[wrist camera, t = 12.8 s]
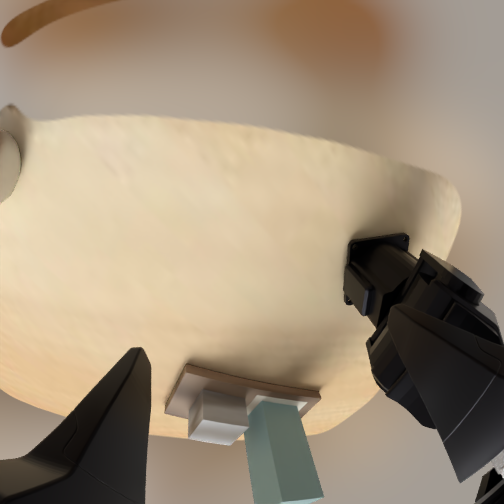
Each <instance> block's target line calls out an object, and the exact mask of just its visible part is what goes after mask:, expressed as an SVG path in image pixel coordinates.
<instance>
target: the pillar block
mask: <svg viewBox="0 0 504 504" xmlns="http://www.w3.org/2000/svg"><path fill="white" fill-rule="evenodd" d="M248 421H249V428H248V429H247V430H246V431H245V432H244V437H245V445H246V452H247V459H248V465H249V472H250V479H251V485H252V491H253V497H254V504H310V503H312V502H314V501H317V500H319V499H321V498H323V497H324V495H323V491H322V488H321V485H320V481H319V478H318V475H317V471H316V468H315V465H314V462H313V458H312V455H311V451H310V448H309V445H308V442H307V438H306V435H305V431H304V428H303V425H302V421H301V418H300V415H299V411H298V408H297V406H293V405H286V404H279V403H272V402H266V401H261V402H260V403H259V404H258V405H257V406H256V407H255V408H254V409H253V410H252V411H251V413H250V414H249V415H248Z"/></svg>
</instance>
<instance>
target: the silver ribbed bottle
mask: <svg viewBox="0 0 504 504" xmlns="http://www.w3.org/2000/svg"><path fill="white" fill-rule="evenodd" d="M20 168H21V157H20V151H19V148H18V145H17V143H16V141H15V139H14V138H13V137H12V135H11V134H10V133H8V132H7V131H5V130H0V204H1V203H2V202H4V201H5V200H6V199H7V198H8V197H9V196H10V195H11V194H12V192H13V190H14V188H15V186H16V184H17V181H18V178H19V174H20Z"/></svg>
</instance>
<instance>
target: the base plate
mask: <svg viewBox="0 0 504 504" xmlns="http://www.w3.org/2000/svg"><path fill="white" fill-rule="evenodd" d="M320 400H321V396H320V393H319V391H311V390H304V389H297V388H291V387H285V386H279V385H274V384H268V383H263V382H258V381H253V380H248V379H244V378H239V377H235V376H231V375H227V374H222V373H218V372H215V371H211V370H207V369H203V368H200V367H196V366H192V365H189V364H186V366H185V368H184V369H183V371H182V373H181V375H180V377H179V379H178V381H177V383H176V385H175V387H174V389H173V391H172V393H171V395H170V397H169V399H168V401H167V403H166V405H165V414H169V415H172V416H177V417H181V418H185V419H188V439H192V440H198V441H203V442H209V443H216V444H223V445H231V444H232V443H233V442H234V441H235V440H237V439H238V438H239V437H240V436H241V435H242V434H243V433H244V432H245V431H246V430H247V429H248V428H249V421H248V415H249V414H250V413H251V411H252V410H253V409H254V408H255V407H256V406H257V405H258V404H259V403H260V402H261V401H266V402H272V403H279V404H286V405H293V406H297V408H298V411H299V415H300V418H302V417H303V416H304V415H305V414H306V413H307V412H308V411H309V410H310V409H311V408H312V407H313V406H314V405H315V404H316V403H317V402H319V401H320Z"/></svg>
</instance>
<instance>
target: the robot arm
mask: <svg viewBox="0 0 504 504" xmlns="http://www.w3.org/2000/svg"><path fill="white" fill-rule="evenodd" d="M404 238H405V239H404ZM403 239H404V240H403ZM355 244H356V246H355V247H354V248H353V246H354V245H355ZM408 246H409V235H407V234H406V233H399V234H392V235H385V236H378V237H371V238H364V239H357V240H352V241H350V242H349V244H348V255H347V264H346V266H345V273H344V286H343V291H344V292H345V294H344V302H345V303H346V305H353V304H354V306H355V307H356V308H357V310H358V311H359V312H360V314H361V315H362V316H368V318H369V319H370V321H371V322H372V323H373V325H374V326H375V327H376V331H375V332H374V334H373V335H372V337H370V338H369V339H368V340H367V342H366V347H367V351H368V355H369V359H370V364H371V368H372V369H371V371H372V374H373V377H374V379H375V381H376V384H377V385H378V386H379V387H380V388H381V389H382V390H383V391H384V392H385V393H386V394H385V395H386V396H387V397H389V398H390V399H392V400H394V401H396V402H398V403H399V404H400V405H402V406H403V407H404V408H406V409H407V410H408V411H409V412H410V413H411V414H412V415H413V416H414V417H415V418H416V419H417V420H418V421H419V423H420V424H421V425H423V426H425V427H428V428H432V429H437V431H438V433H439V435H440V437H441V439H442V442H444V443H443V444H444V447H445V449H446V451H447V453H448V456H449V458H450V460H451V463H452V465H453V468H454V470H455V473H456V476H457V478H458V481H459V482H460V483H462V482H463V481H465V480H466V479H467V478H469V477H470V476H472V475H473V474H474V473H476V472H477V471H478V470H480V469H481V468H482V467H484V466H485V465H486V464H488V463H489V462H490V461H491V462H492V464H493V466H494V467H493V468H492V469H491V470H490V471H488V472H487V473H486V474H485V475H484V476H482V481H481V484H480V487H479V490H478V494H477V497H476V500H475V502H476V503H475V504H504V342H503V339H502V336H501V332H500V329H499V326H498V323H497V320H496V317H495V314H494V313H493V312H492V311H491V310H490V309H489V308H488V307H487V306H485V305H484V304H483V303H482V302H481V300H482V298H483V296H484V293H483V292H482V291H481V290H480V289H479V287H478V286H477V285H476V284H475V283H474V282H473V281H472V279H471V278H469V277H468V276H467V275H465V274H464V273H462V272H461V271H460V270H458V269H457V268H455V267H454V266H453V265H451V264H449V263H447V262H446V261H444V260H442V259H440V258H438V257H436V256H435V255H433V254H431V253H429V252H427V251H425V250H423V249H422V251H421V253H420V255H419V256H420V258H419V259H417V258H416V257H415V256H413V255H412V254H411V253H409V252H408ZM349 299H350V300H349ZM348 300H349V301H348ZM150 413H151V364H150V362H149V359H148V357H147V355H146V353H145V351H144V349H143V348H142V347H133V348H131V349H129V351H128V352H127V353H126V354H125V355H124V356H123V357H122V358H121V359H120V360H119V361H118V362H117V363H116V364H115V365H114V366H113V367H112V369H111V370H110V371H109V372H108V373H107V374H106V375H105V376H104V377H103V378H102V379H101V380H100V381H99V382H98V384H97V385H96V386H95V387H94V388H93V389H92V390H91V391H90V392H89V393H88V394H87V395H86V397H85V398H84V399H83V400H82V401H81V402H80V403H79V404H78V405H77V406H76V407H75V409H74V410H73V411H72V412H71V413H70V414H69V415H68V416H67V417H66V419H64V420H63V421H62V423H61V424H60V425H59V426H58V427H57V428H56V429H54V431H52V432H51V433H50V434H49V435H48V436H47V437H46V438H45V439H44V440H43V441H41V442H40V443H39V444H38V445H37V446H36V447H35V448H34V449H33V450H31V451H30V452H29V453H28V454H26V455H25V456H22V457H20V458H15V459H6V460H0V504H145V486H146V463H147V447H148V434H149V423H150Z"/></svg>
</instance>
